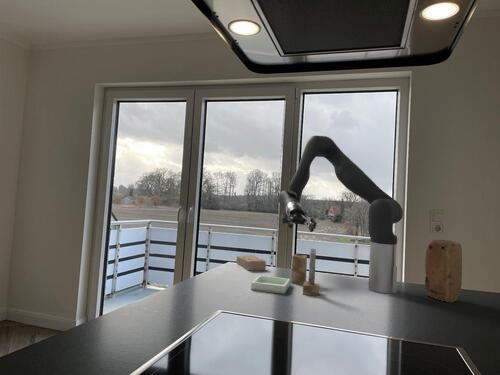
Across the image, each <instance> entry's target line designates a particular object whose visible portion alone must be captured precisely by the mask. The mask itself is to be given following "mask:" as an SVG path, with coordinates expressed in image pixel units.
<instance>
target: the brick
mask: <svg viewBox="0 0 500 375" xmlns="http://www.w3.org/2000/svg"><path fill="white" fill-rule="evenodd" d="M236 264H237V266H240V267H241V268H243V269H245V270H247V271H266V270H267V269H266V267H267V261H266V260H265V259H263V258H259V257H258V256H256V255H254V254H238V255H236Z"/></svg>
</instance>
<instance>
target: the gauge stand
mask: <svg viewBox="0 0 500 375" xmlns="http://www.w3.org/2000/svg"><path fill="white" fill-rule="evenodd" d="M316 254H317V249H316V248H310V249H309V261H308V262H309V265H308V281H306V282H305V283H304V284H302V295H307V296H314V297H319V294H320V282H319V283H317V282H316V281H315V280H316V279H315V277H316V260H317V259H316V256H317V255H316Z"/></svg>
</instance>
